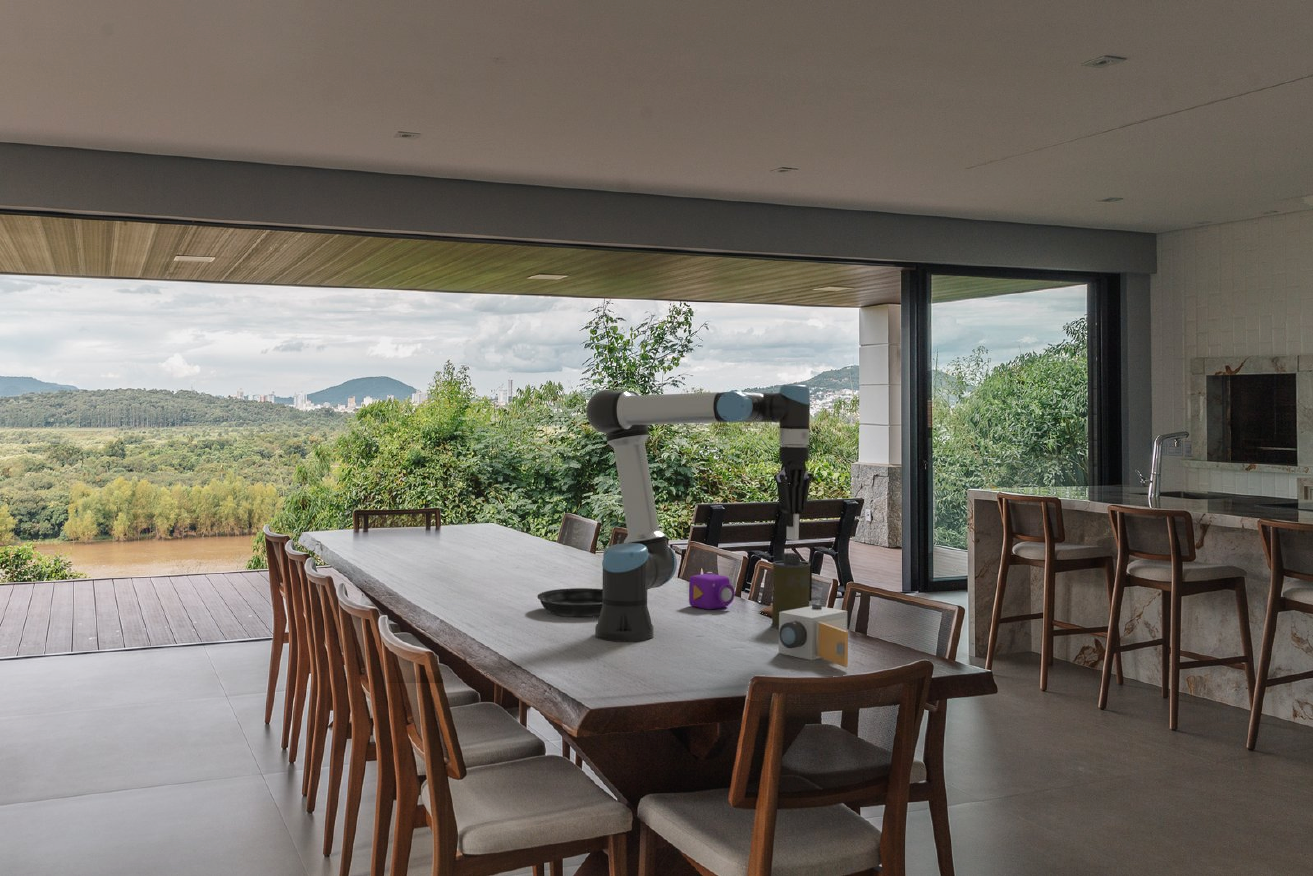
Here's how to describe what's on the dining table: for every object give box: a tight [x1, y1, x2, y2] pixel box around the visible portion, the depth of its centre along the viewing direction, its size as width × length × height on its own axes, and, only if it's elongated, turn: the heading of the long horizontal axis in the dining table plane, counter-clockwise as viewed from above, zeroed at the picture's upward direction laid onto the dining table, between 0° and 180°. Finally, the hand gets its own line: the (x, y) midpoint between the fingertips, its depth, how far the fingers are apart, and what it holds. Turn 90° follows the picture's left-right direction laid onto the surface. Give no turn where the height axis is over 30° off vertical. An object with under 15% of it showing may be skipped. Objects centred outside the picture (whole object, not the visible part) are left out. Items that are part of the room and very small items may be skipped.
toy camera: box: [688, 571, 735, 610], centre depth 319 cm, size 11×14×10 cm
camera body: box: [778, 603, 848, 661], centre depth 259 cm, size 17×10×11 cm, turn 134°
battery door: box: [816, 621, 849, 668], centre depth 247 cm, size 13×2×8 cm, turn 22°
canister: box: [771, 552, 813, 629], centre depth 292 cm, size 11×10×20 cm
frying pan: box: [537, 587, 603, 618], centre depth 316 cm, size 44×25×7 cm, turn 137°
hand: (792, 539), depth 270 cm, fingers closed
